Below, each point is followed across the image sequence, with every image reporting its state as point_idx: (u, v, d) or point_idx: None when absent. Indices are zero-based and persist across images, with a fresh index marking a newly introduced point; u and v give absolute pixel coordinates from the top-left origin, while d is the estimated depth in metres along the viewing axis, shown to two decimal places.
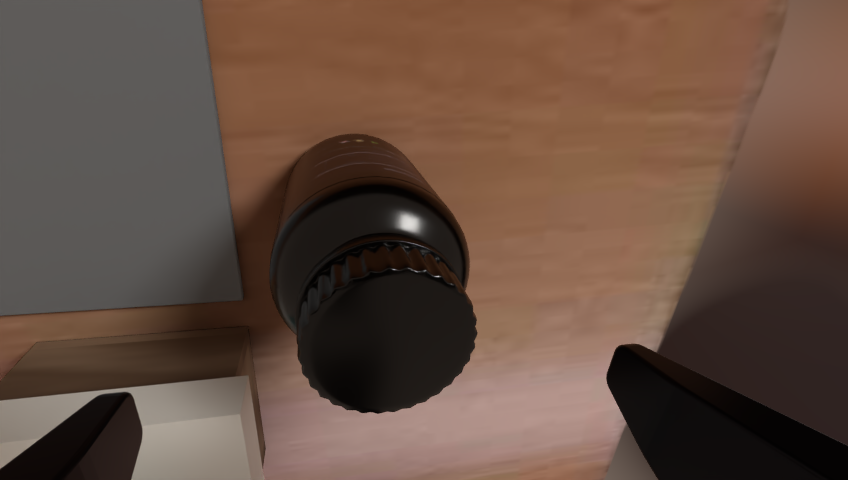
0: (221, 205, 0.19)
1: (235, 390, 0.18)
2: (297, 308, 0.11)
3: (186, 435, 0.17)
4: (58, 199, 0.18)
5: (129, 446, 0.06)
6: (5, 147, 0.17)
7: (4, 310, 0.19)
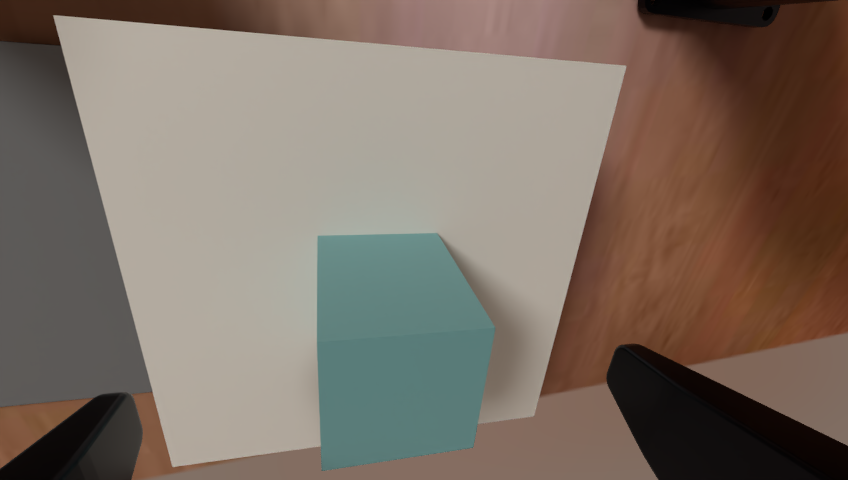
0: None
1: None
2: None
3: (133, 139, 0.08)
4: None
5: (129, 446, 0.06)
6: None
7: None
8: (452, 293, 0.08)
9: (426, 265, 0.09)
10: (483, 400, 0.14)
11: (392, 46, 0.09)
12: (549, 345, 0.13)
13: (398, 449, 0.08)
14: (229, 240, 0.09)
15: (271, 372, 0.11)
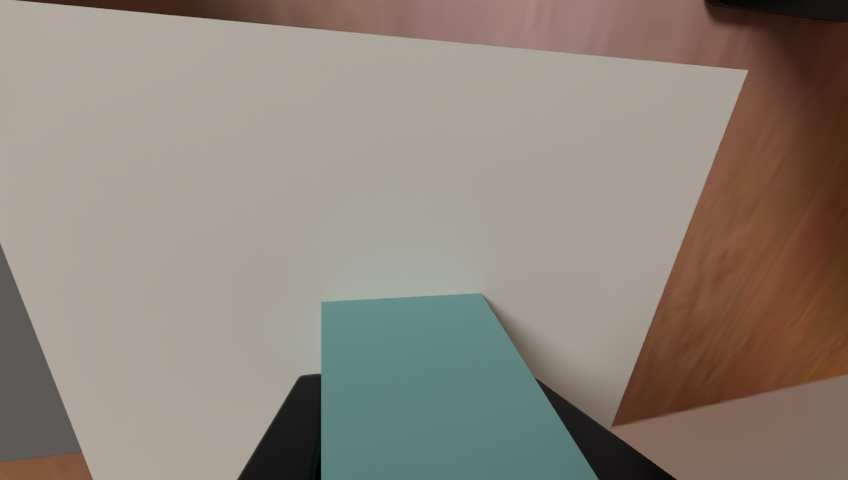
0: None
1: None
2: None
3: (49, 179, 0.06)
4: None
5: None
6: None
7: None
8: (525, 413, 0.05)
9: (476, 355, 0.06)
10: None
11: (432, 42, 0.06)
12: (610, 419, 0.11)
13: None
14: (199, 312, 0.07)
15: None
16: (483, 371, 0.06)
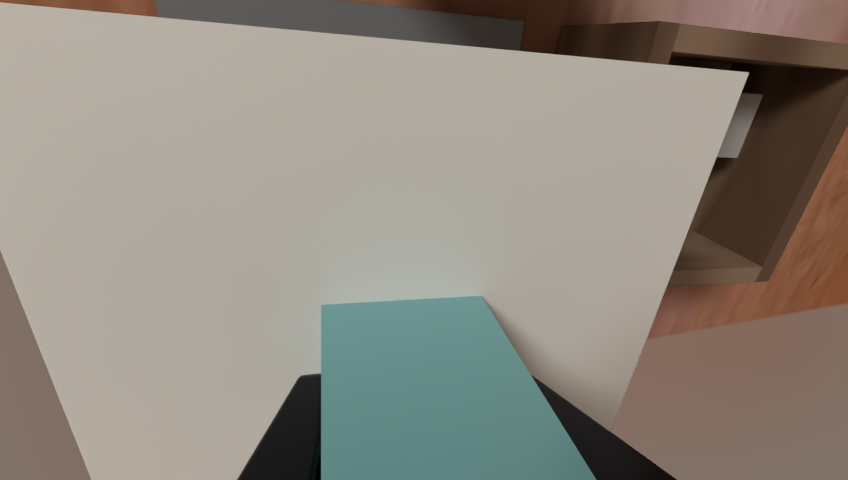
0: (398, 16, 0.16)
1: None
2: None
3: (48, 183, 0.05)
4: None
5: None
6: None
7: None
8: (526, 418, 0.05)
9: (477, 358, 0.06)
10: None
11: (432, 45, 0.06)
12: (611, 421, 0.11)
13: None
14: (198, 315, 0.07)
15: None
16: (484, 375, 0.06)
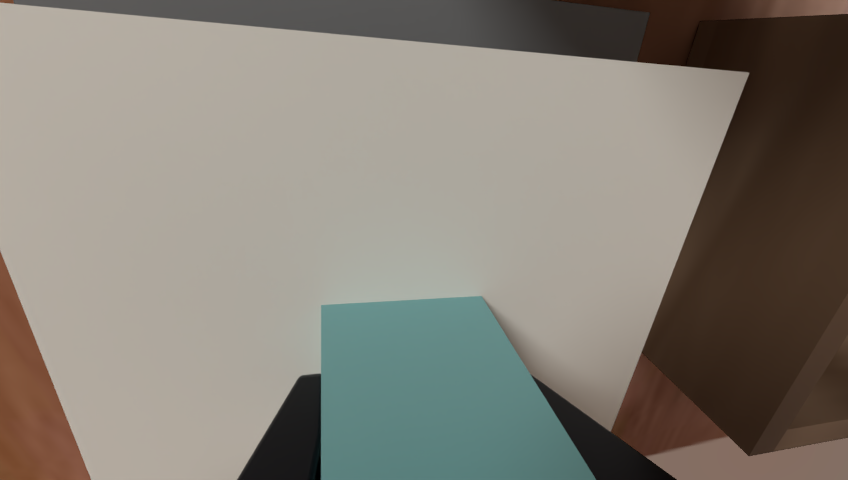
0: (450, 3, 0.10)
1: None
2: None
3: (48, 183, 0.05)
4: None
5: None
6: None
7: None
8: (526, 418, 0.05)
9: (477, 359, 0.06)
10: None
11: (432, 45, 0.06)
12: (611, 421, 0.11)
13: None
14: (198, 315, 0.07)
15: None
16: (484, 375, 0.06)
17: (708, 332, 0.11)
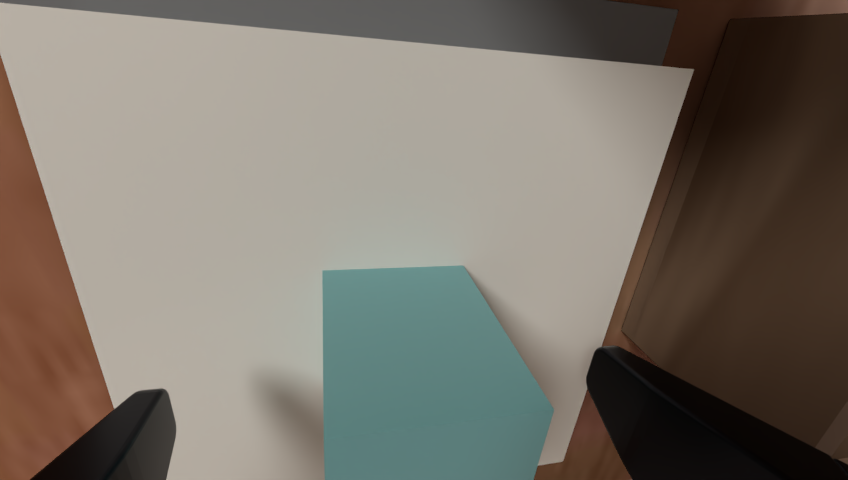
0: None
1: None
2: None
3: (94, 158, 0.07)
4: None
5: (165, 441, 0.06)
6: None
7: None
8: (492, 355, 0.06)
9: (455, 312, 0.07)
10: None
11: (417, 44, 0.07)
12: (584, 386, 0.12)
13: None
14: (216, 277, 0.08)
15: (267, 424, 0.10)
16: (460, 324, 0.07)
17: (738, 353, 0.11)
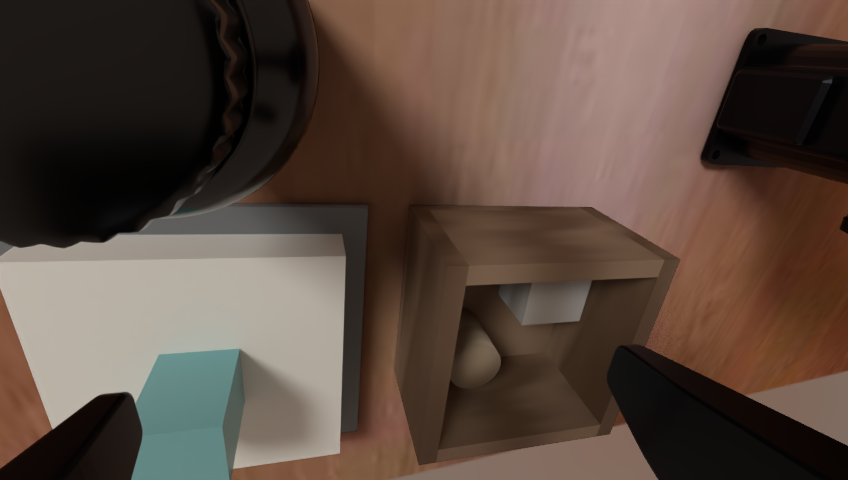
0: (238, 213, 0.17)
1: None
2: None
3: (38, 314, 0.15)
4: None
5: (129, 446, 0.06)
6: None
7: (354, 385, 0.23)
8: (214, 401, 0.15)
9: (213, 379, 0.16)
10: (297, 443, 0.20)
11: (190, 259, 0.15)
12: (338, 408, 0.20)
13: None
14: (101, 360, 0.16)
15: None
16: (211, 385, 0.15)
17: (412, 390, 0.19)
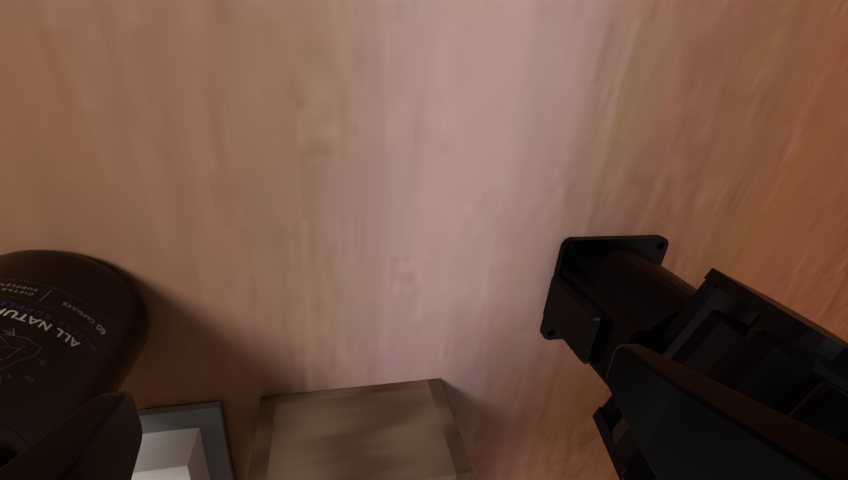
0: None
1: None
2: None
3: None
4: None
5: (129, 446, 0.06)
6: None
7: None
8: None
9: None
10: None
11: None
12: None
13: None
14: None
15: None
16: None
17: None
